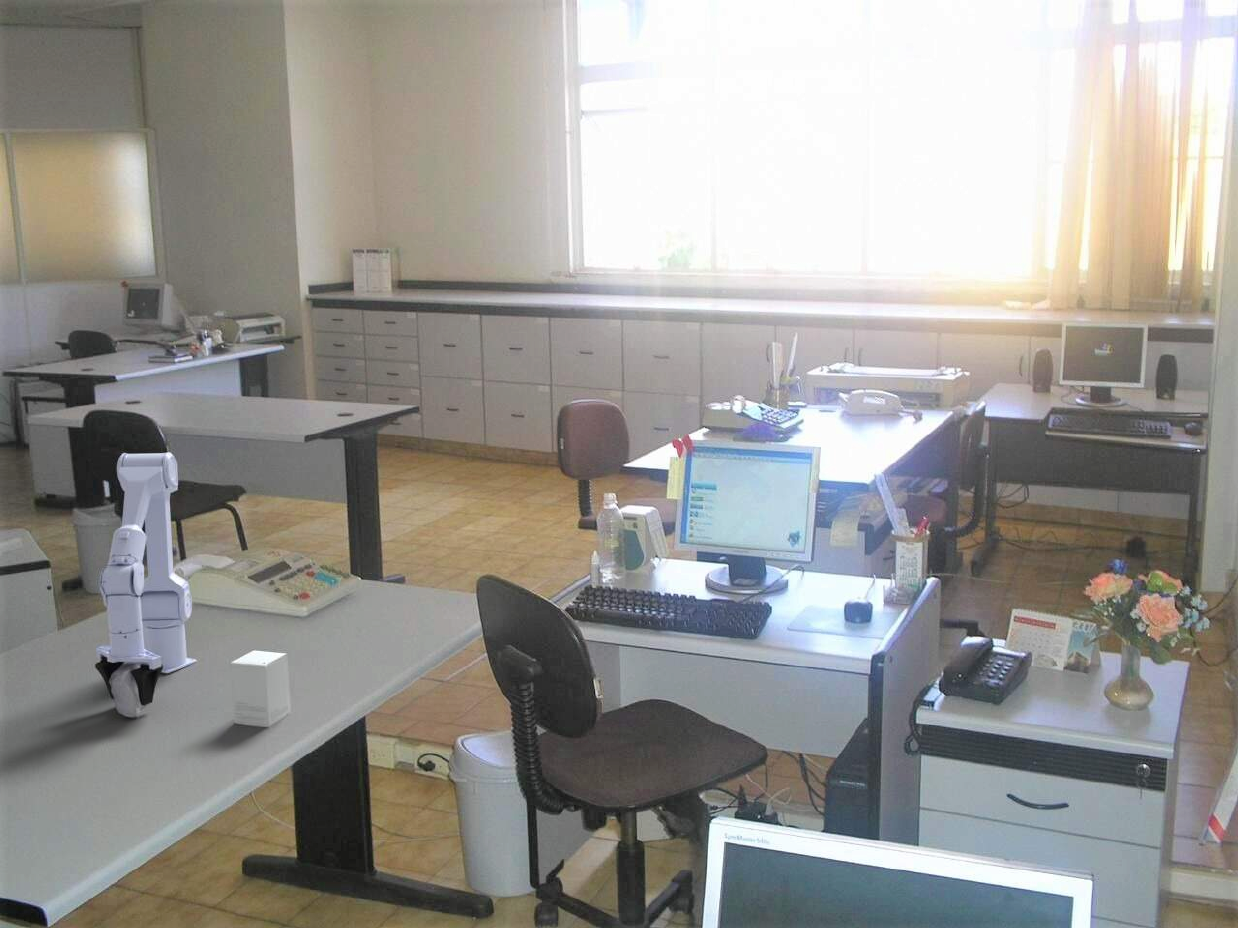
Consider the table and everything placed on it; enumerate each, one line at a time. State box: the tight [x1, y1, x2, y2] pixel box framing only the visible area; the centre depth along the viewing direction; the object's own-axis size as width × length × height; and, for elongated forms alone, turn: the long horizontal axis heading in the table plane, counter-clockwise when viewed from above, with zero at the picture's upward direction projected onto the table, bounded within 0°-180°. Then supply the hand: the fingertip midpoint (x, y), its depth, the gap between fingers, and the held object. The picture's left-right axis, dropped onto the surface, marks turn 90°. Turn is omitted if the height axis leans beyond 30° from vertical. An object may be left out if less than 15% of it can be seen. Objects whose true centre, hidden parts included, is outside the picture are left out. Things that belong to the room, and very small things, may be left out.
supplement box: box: [230, 650, 292, 728], centre depth 225 cm, size 7×7×13 cm
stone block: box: [109, 662, 156, 719], centre depth 230 cm, size 12×5×10 cm, turn 0°
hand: (131, 700), depth 230 cm, fingers open, 7 cm apart
